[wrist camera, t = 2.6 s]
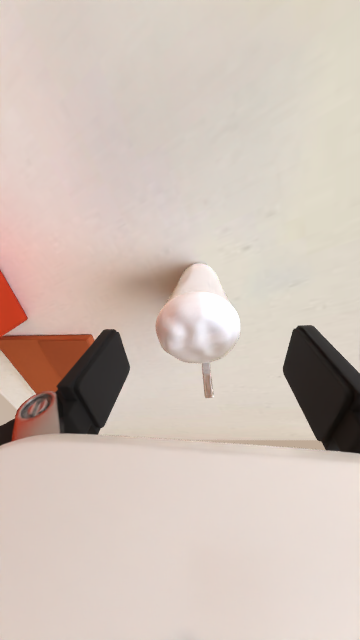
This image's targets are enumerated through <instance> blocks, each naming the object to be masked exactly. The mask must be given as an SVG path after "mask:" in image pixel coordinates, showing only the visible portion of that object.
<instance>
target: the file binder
mask: <svg viewBox="0 0 360 640" xmlns="http://www.w3.org/2000/svg"><path fill="white" fill-rule="evenodd" d="M26 320H27V316H26V314H25V313H24V311H23V309H22V307H21V306H20V304H19V302H18V300H17V299H16V297H15V295H14V293H13V291H12V290H11V288H10V286H9V284H8V283H7V281H6V279H5V277H4V276H3V274H2V272H1V270H0V337H1V336H3V335H4V334H6V333H7V332H9V331H10V330H12V329H14V328H15V327H17V326H18V325H20V324H21V323H23V322H24V321H26Z"/></svg>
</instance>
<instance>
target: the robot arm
mask: <svg viewBox="0 0 360 640" xmlns="http://www.w3.org/2000/svg"><path fill="white" fill-rule="evenodd" d="M129 370H130V366H129V362H128V359H127V356H126V353H125V350H124V347H123V344H122V340H121V337H120V334H119V332H116V330H114V329H106V330H103V331H102V333H101V334H100V335H99V336H98V337H97V339H96V340H95V341H94V342H93V343H92V344H91V346H90V347H89V348H88V349H87V350H86V352H85V353H84V354H83V355H82V356H81V358H80V359H79V360H78V361H77V362H76V363H75V365H74V366H73V367H72V368H71V369H70V371H69V372H68V373H67V374H66V375H65V377H64V378H63V379H62V380H61V381H60V382H59V384H58V385H57V386H56V387H57V388H58V390H57V391H56V392H53V391H43V392H40V393H38V394H36V395H34V396H32V397H30V398H29V399H28V400H26V401H25V402H24V403H23V404H22V405H21V406H20V408H19V409H18V410H17V413H16V415H15V419H13V420H11V421H9V422H7V423H6V424H4V425H2V426H0V640H360V373H359V372H358V371H357V370H356V369H355V368H354V367H353V366H352V365H351V364H350V363H349V362H348V361H347V360H346V359H345V358H344V357H343V356H342V355H341V354H340V353H339V352H338V351H337V350H336V349H335V348H334V347H333V346H332V345H331V344H330V343H329V342H328V341H327V340H326V339H325V338H324V337H323V336H322V335H321V333H320V332H319V331H318V330H317V329H316V328H315V327H314V326H311V325H306V326H298V327H297V328H296V329H294V330H293V332H292V336H291V340H290V343H289V347H288V351H287V355H286V358H285V362H284V366H283V373H284V375H285V377H286V379H287V381H288V383H289V385H290V387H291V389H292V391H293V393H294V395H295V397H296V399H297V401H298V403H299V405H300V407H301V409H302V411H303V413H304V415H305V417H306V419H307V421H308V423H309V425H310V427H311V429H312V431H313V433H314V435H315V437H316V438H317V440H318V441H322V443H323V445H324V447H325V449H326V450H316V449H304V448H291V447H277V446H276V447H275V446H262V445H249V444H234V443H220V442H205V441H191V440H176V439H161V438H145V437H129V436H113V435H98V433H99V431H100V428H102V427H104V425H105V423H106V421H107V419H108V417H109V415H110V412H111V410H112V408H113V406H114V404H115V402H116V399H117V397H118V395H119V393H120V391H121V389H122V386H123V384H124V382H125V380H126V378H127V375H128V373H129ZM327 450H328V451H327ZM338 451H340V452H338Z"/></svg>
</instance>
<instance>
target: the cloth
mask: <svg viewBox="0 0 360 640" xmlns="http://www.w3.org/2000/svg"><path fill="white" fill-rule="evenodd" d="M93 342H94V339H93V337H92V335H47V336H1V337H0V349H1V351H2V352H3V353H4V354H5V356H6V357H7V358H8V359H9V361H10V362H11V363H12V364H13V366H14V367H15V368H16V369H17V370H18V372H19V373H20V374H21V375H22V377H23V378H24V379H25V380H26V382H27V383H28V384H29V385H30V387H31V388H32V389H33V390H34V392H35V393H36V394H38V393H40V392H43V391H53V392H56V391H57V390H58V388H57V387H56V386H57V385H58V384H59V382H60V381H61V380H62V379H63V378H64V377H65V375H66V374H67V373H68V372H69V371H70V369H71V368H72V367H73V366H74V365H75V363H76V362H77V361H78V360H79V359H80V358H81V356H82V355H83V354H84V353H85V352H86V350H87V349H88V348H89V347H90V346H91V344H92V343H93Z"/></svg>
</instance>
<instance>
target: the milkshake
mask: <svg viewBox="0 0 360 640" xmlns="http://www.w3.org/2000/svg"><path fill="white" fill-rule="evenodd" d="M156 333H157V336H158V339H159V342H160V344H161V346H162V348H163V349H164V350H165V351H166V352H167V353H169V354H171V355H173V356H174V357H176V358H177V359H179V360H181V361H183V362H188V363H202V371H203V382H204V392H205V398H212V397H213V387H212V379H211V370H210V362H212V361H215V360H218V359H221V358H223V357H224V356H226V355H227V354H228V353H229V352H230V351H231V350H232V349H233V347H234V346H235V345H236V343H237V341H238V339H239V336H240V320H239V316H238V314H237V312H236V310H235V309H234V307H233V306H232V304H231V302H230V300H229V299H228V297H227V295H226V293H225V291H224V289H223V287H222V285H221V283H220V281H219V279H218V277H217V275H216V272H215V271H214V270H213V269H211V268H210V267H209V266H208V265H207V264H199V263H194V264H193V265H191V266H190V267H188V268H186V269H185V270H184V272H183V274H182V276H181V278H180V280H179V282H178V283H177V285H176V287H175V289H174V291H173V292H172V294H171V295H170V297H169V298H168V300H167V302H166V303H165V305H164V306H163V308H162V310H161V311H160V313H159V315H158V317H157V320H156Z"/></svg>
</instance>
